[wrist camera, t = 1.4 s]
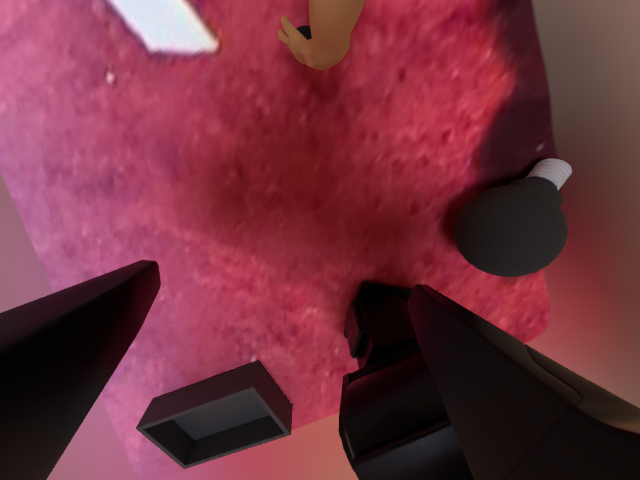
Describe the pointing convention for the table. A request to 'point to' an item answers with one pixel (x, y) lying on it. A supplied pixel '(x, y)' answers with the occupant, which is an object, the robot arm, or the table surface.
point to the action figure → (323, 32)
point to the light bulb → (516, 223)
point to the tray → (218, 416)
